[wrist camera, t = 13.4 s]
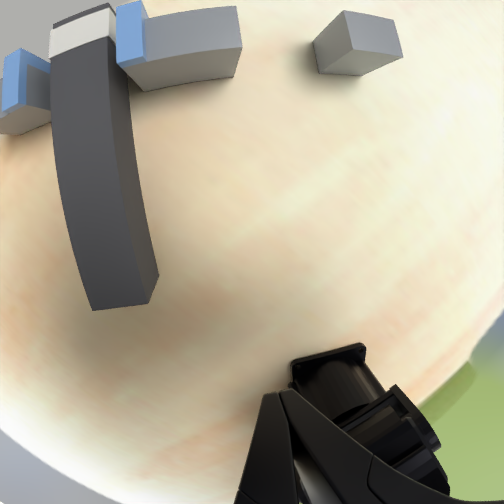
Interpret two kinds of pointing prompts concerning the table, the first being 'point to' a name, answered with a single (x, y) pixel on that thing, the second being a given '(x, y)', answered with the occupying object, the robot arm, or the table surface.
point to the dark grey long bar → (99, 162)
